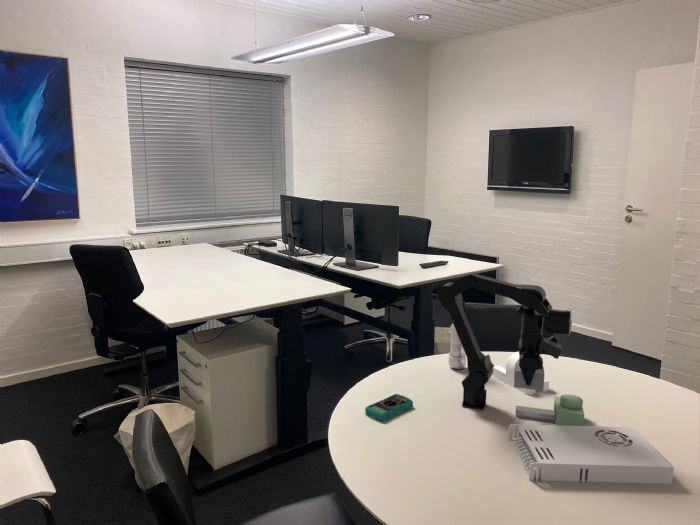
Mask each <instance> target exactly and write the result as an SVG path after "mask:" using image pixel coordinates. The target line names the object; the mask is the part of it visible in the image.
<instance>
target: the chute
mask: <svg viewBox="0 0 700 525" xmlns="http://www.w3.org/2000/svg"><path fill="white" fill-rule="evenodd" d="M544 378H545V368H544V366H543V369H541V370H540V369H538V370H536V371H535V374H534V376H533V379H532V382H531V385H530V386H529V385H526V382H525V379H524V377H523V374H522V371H521V369H520V367H519V364H518V363H515V372H514V387H516V388H524V389H532V390H535V391H540V392H543V388H544Z"/></svg>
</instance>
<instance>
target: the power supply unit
mask: <svg viewBox="0 0 700 525" xmlns="http://www.w3.org/2000/svg"><path fill="white" fill-rule="evenodd" d="M513 432H514V433H513ZM513 434H514V437H513ZM507 435H508V437H507V439H508V441H510V443H511V445H512V447H513V449H514V450H515V453H516V454H517V456H518V458H519V460H520V462H521V464H522V466H523V468H524V470H525V471H526V474H527V476H528V480H529V481H534V479H535V481H539V480H540V481H546V482H548V481H549V482H550V481H553V482H580V481H581V482H583V483H585V481H586V482H588V483H619V484H622V483H623V484H647V485H648V484H650V485H651V484H653V485H654V484H655V485H656V484H657V485H672V484H673V477H674V471H675V470H674V469H675V466H674V464H672V463H671V462H670V461H669V460H668V459H667V458H666V457H665V456H664V455H663V454H662V453H661V452H660V451H659V450H658V449H657V448H656V447H655V446H654V445H653V444H651V443H650V442H649V440H647V438H645V436H643V435H642V433H640V432H639V431H638V430H637V429H636V427H633V426H605V425H604V426H597V425H596V426H595V425H583V426H562V425H556V424H555V425H554V424H553V425H551V424H516V423H515V424H514V423H513V424H509V426H508V434H507ZM517 435H518V436H517Z"/></svg>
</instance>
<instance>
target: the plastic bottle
mask: <svg viewBox="0 0 700 525" xmlns="http://www.w3.org/2000/svg"><path fill="white" fill-rule="evenodd" d="M449 336H450V337H449V338H450V348H449V349H450V350H449V356H448V365H449V367H450V368H451V369H455V370H462V369H464V368H465V367H466V364H467V356H466V354H465V351H464V349H463V346H462V344H461V342H460V339H459V337H458V334H457V332H456V329H455V327H454V325H453V323H452V324H451V325H450V327H449Z"/></svg>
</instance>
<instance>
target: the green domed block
mask: <svg viewBox="0 0 700 525" xmlns="http://www.w3.org/2000/svg"><path fill="white" fill-rule="evenodd" d="M583 404H584V400H583V399H582V397H581V396H577V395H574V394H569V393H568V394H566V393H565V394H562V395H560V396H554V403H553V409H546V408H538V407H531V406H530V407H529V406H523V405H515V417H517V418H518V417H519V418H525V419H531V420H532V419H533V420H540V421H546V422H554V424H555V425H562V426H585V425H584V424H585V411H584V409H583Z"/></svg>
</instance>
